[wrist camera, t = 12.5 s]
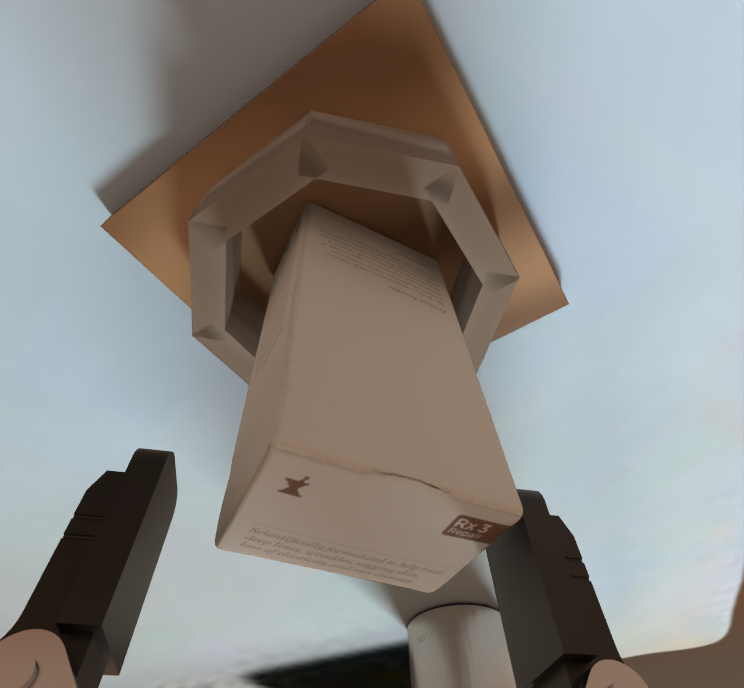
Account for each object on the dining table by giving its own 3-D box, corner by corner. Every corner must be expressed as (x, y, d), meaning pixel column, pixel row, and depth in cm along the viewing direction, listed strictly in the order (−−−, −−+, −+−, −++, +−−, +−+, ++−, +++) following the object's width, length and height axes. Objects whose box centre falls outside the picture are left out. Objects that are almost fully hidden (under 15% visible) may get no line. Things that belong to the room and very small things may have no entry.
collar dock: (561, 291, 22) (594, 345, 19) (320, 412, 27) (316, 471, 24) (406, -26, 15) (419, -24, 12) (111, 215, 19) (63, 263, 16)
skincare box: (270, 282, 20) (193, 559, 11) (310, 189, 18) (255, 442, 8) (397, 332, 22) (426, 607, 13) (449, 254, 20) (533, 522, 10)
